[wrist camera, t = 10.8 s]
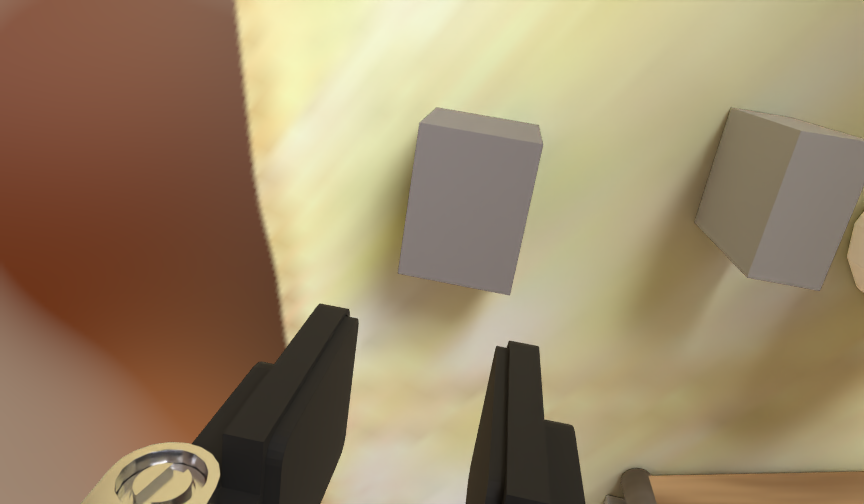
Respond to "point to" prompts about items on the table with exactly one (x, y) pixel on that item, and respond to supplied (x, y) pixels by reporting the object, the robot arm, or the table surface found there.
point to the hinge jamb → (614, 500)
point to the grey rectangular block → (469, 199)
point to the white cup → (857, 253)
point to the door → (744, 488)
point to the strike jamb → (781, 196)
